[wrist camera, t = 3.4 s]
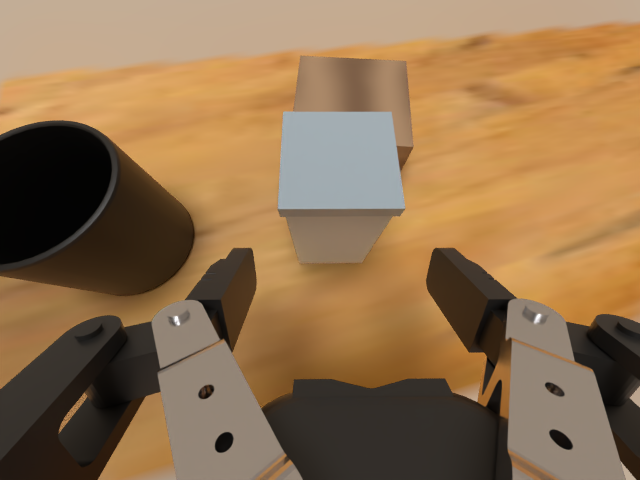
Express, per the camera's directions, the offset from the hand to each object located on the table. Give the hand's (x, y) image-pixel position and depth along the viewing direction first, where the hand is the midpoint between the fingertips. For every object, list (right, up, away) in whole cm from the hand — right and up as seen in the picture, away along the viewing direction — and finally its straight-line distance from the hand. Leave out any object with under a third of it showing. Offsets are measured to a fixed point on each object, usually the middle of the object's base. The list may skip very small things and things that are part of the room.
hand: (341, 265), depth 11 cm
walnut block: (+2, +12, +15) cm, 19 cm away
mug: (-18, +1, +11) cm, 21 cm away
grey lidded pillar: (0, +2, +11) cm, 11 cm away
